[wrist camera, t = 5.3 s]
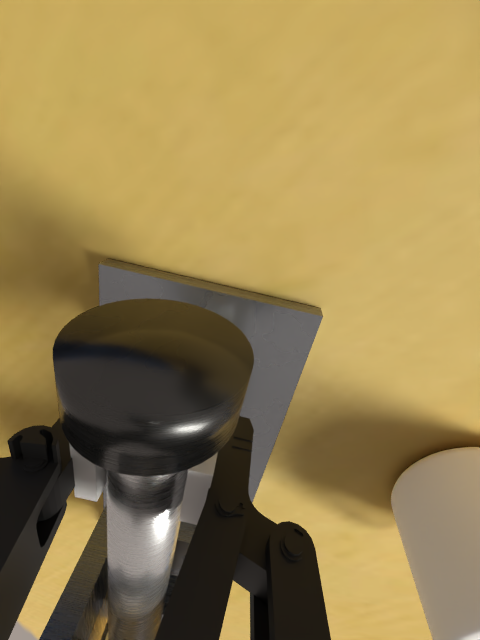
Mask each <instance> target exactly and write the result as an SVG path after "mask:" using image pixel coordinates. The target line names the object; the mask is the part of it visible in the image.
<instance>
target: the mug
mask: <svg viewBox="0 0 480 640" xmlns="http://www.w3.org/2000/svg"><path fill="white" fill-rule="evenodd" d="M391 505H392V510H393V513H394V517H395V520H396V524H397V527H398V530H399V533H400V537H401V540H402V543H403V546H404V550H405V553H406V556H407V559H408V562H409V565H410V569H411V572H412V575H413V578H414V581H415V584H416V588H417V591H418V594H419V597H420V600H421V603H422V607H423V610H424V613H425V616H426V619H427V622H428V626H429V629H430V632H431V635H432V638H433V640H480V447H463V448H454V449H449V450H444V451H441V452H437V453H434V454H431V455H429V456H427V457H424V458H422V459H420V460H419V461H417V462H415V463H414V464H412V465H411V466H410V467H408V468H407V469H406V470H405V471H404V472H403V473H402V474H401V475H400V477H399V478H398V480H397V481H396V483H395V485H394V487H393V490H392V495H391Z"/></svg>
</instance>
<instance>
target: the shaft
mask: <svg viewBox="0 0 480 640" xmlns="http://www.w3.org/2000/svg"><path fill="white" fill-rule="evenodd" d="M53 362H54V371H55V380H56V389H57V398H58V406H59V415H60V422H61V426H62V430H63V432H64V435H65V437H66V439H67V440H68V442H69V443H70V444H71V446H72V447H73V448H74V449H75V450H76V451H77V452H78V453H79V454H80V455H81V456H82V457H84V458H85V459H87V460H88V461H90V462H91V463H93V464H95V465H97V466H99V467H101V468H104V469H106V481H107V564H108V640H154V639H155V637H156V634H157V631H158V628H159V626H160V623H161V619H162V614H163V609H164V603H165V598H166V593H167V588H168V583H169V578H170V573H171V568H172V563H173V558H174V553H175V548H176V543H177V537H178V532H179V527H180V522H181V521H179V518H180V512H181V507H182V501H183V495H184V490H185V484H186V478H187V473H188V469H190V468H192V467H194V466H196V465H199V464H201V463H203V462H204V461H206V460H208V459H209V458H211V457H212V456H214V455H215V454H216V453H217V452H218V451H220V450H221V449H222V448H223V447H224V445H225V444H226V443H227V442H228V441H229V439H230V438H231V436H232V435H233V433H234V431H235V428H236V426H237V423H238V420H239V416H240V412H241V409H242V405H243V402H244V398H245V395H246V391H247V387H248V384H249V380H250V377H251V373H252V369H253V365H254V354H253V349H252V347H251V344H250V342H249V341H248V339H247V337H246V336H245V335H244V334H243V332H242V331H241V330H240V329H239V328H238V327H237V326H235V325H234V324H233V323H232V322H230V321H229V320H227V319H226V318H224V317H222V316H221V315H219V314H217V313H215V312H213V311H210V310H208V309H205V308H202V307H200V306H197V305H193V304H189V303H185V302H180V301H174V300H167V299H148V298H146V299H130V300H122V301H116V302H112V303H108V304H104V305H101V306H98V307H95V308H93V309H90V310H88V311H86V312H84V313H82V314H80V315H78V316H77V317H75V318H74V319H73V320H71V321H70V322H69V323H68V324H67V325H66V326H64V328H63V329H62V330H61V331H60V333H59V334H58V336H57V338H56V340H55V343H54V347H53Z"/></svg>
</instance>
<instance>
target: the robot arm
mask: <svg viewBox="0 0 480 640" xmlns="http://www.w3.org/2000/svg"><path fill="white" fill-rule="evenodd" d="M253 433H254V429H253V426H252V423H251V421H250V418H246V417H241V416H239V420H238V423H237V426H236V428H235V431H234V433H233V435H232V436H231V438H230V439H229V441H228V442H227V443H226V444H225V445H224V447H223V448H222V449H221V450H220V451H218V452H217V453H216V454H215V455H214V456H212V457H211V458H209V459H208V460H206V461H204V462H203V463H201V464H199V465H196V466H194V467H192V468H190V469H188V473H187V478H186V484H185V490H184V495H183V501H182V507H181V512H180V518H179V521H182V522H186V523H191V524H195V525H197V526H196V528H195V531H194V534H193V537H192V539H191V542H190V545H189V547H188V550H187V553H186V556H185V558H184V561H183V564H182V566H181V569H180V572H179V574H178V577H177V580H176V583H175V585H174V588H173V591H172V593H171V596H170V599H169V601H168V604H167V607H166V610H165V612H164V615H163V618H162V620H161V623H160V626H159V628H158V631H157V634H156V637H155V639H154V640H219V637H220V633H221V628H222V624H223V620H224V616H225V611H226V607H227V603H228V598H229V594H230V590H231V586H232V581H233V580H234V581H235V582H236V583H238V584H239V585H241V586H242V587H243V588H245V589H246V590H248V591H249V592H250V640H331V638H330V632H329V626H328V620H327V615H326V609H325V603H324V597H323V591H322V586H321V580H320V574H319V568H318V563H317V557H316V551H315V547H314V544H313V541H312V539H311V537H310V536H309V534H308V533H307V531H306V530H305V529H303V528H302V527H301V526H300V525H298V524H296V523H293V522H290V521H289V522H281V523H279V524H276V523H274V522H273V521H271V520H269V519H268V518H266V517H265V516H263V515H262V514H261V513H259V512H258V511H257V510H256V508H255V507H254V506H253V504H252V502H251V500H250V497H249V489H248V487H249V476H250V465H251V454H252V453H251V452H252V444H253V443H252V442H253ZM8 445H9V449H10V453H11V457H5V458H0V640H8V639H9V637H10V634H11V632H12V630H13V628H14V625H15V623H16V621H17V619H18V617H19V614H20V612H21V610H22V608H23V605H24V603H25V601H26V599H27V596H28V594H29V592H30V590H31V587H32V585H33V583H34V581H35V579H36V576H37V574H38V572H39V570H40V567H41V565H42V563H43V561H44V558H45V556H46V554H47V552H48V549H49V547H50V545H51V543H52V540H53V538H54V536H55V534H56V532H57V529H58V527H59V525H60V523H61V520H62V518H63V516H64V514H65V510H66V506H67V503H66V500H67V498H68V496H69V495H70V493H71V492H72V490H73V488H74V492H75V497H78V498H82V499H86V500H91V501H95V502H97V501H98V499H99V497H100V495H101V493H102V491H103V489H104V487H105V486H106V484H107V481H106V469H104V468H101V467H99V466H97V465H95V464H93V463H91V462H90V461H88V460H87V459H85V458H84V457H82V456H81V455H80V454H79V453H78V452H77V451H76V450H75V449H74V448H73V447H72V446H71V444H70V443H69V442H68V440H67V439H66V437H65V435H64V432H63V430H62V426H61V422H60V418H59V419H58V420H57V422H56V423H55V424H54V425H53V426H52V428H51V427H47V426H44V425H43V426H32V427H28V428H25V429H23V430H21V431H19V432H17V433H16V434H14V435H13V436H12V437H11V438H10V439H9V440H8Z"/></svg>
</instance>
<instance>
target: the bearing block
mask: <svg viewBox="0 0 480 640" xmlns="http://www.w3.org/2000/svg"><path fill="white" fill-rule="evenodd" d="M146 298H148V299H167V300H174V301H180V302H185V303H189V304H193V305H197V306H200V307H202V308H205V309H208V310H210V311H213V312H215V313H217V314H219V315H221V316H222V317H224V318H226V319H227V320H229V321H230V322H232V323H233V324H234V325H235V326H237V327H238V328H239V329H240V330H241V331H242V332H243V334H244V335H245V336H246V337H247V339H248V341H249V342H250V344H251V347H252V349H253V354H254V365H253V369H252V373H251V377H250V380H249V384H248V387H247V391H246V395H245V398H244V402H243V405H242V409H241V412H240V416H241V417H246V418H250V421H251V423H252V426H253V429H254V433H253V442H252V443H253V444H252V452H251V453H252V454H251V465H250V476H249V487H248V489H249V497H250V500H251V502H253V499H254V497H255V494H256V491H257V489H258V486H259V483H260V481H261V478H262V476H263V473H264V470H265V468H266V465H267V462H268V460H269V457H270V454H271V452H272V449H273V447H274V444H275V441H276V439H277V436H278V433H279V431H280V428H281V426H282V423H283V420H284V418H285V415H286V412H287V410H288V407H289V404H290V402H291V399H292V397H293V394H294V391H295V389H296V386H297V383H298V381H299V378H300V376H301V373H302V370H303V368H304V365H305V362H306V360H307V357H308V354H309V352H310V349H311V347H312V344H313V341H314V339H315V336H316V333H317V331H318V328H319V325H320V323H321V320H322V318H323V315H322V311H321V308H318V307H313V306H309V305H305V304H301V303H296V302H292V301H288V300H284V299H279V298H275V297H271V296H266V295H262V294H258V293H254V292H249V291H245V290H241V289H237V288H232V287H228V286H224V285H220V284H215V283H211V282H207V281H202V280H198V279H194V278H190V277H185V276H181V275H177V274H173V273H168V272H164V271H160V270H156V269H151V268H147V267H143V266H138V265H134V264H130V263H126V262H121V261H117V260H113V259H109V258H108V259H106V260H104V261H103V262H101V263H99V304H100V306H101V305H104V304H108V303H112V302H116V301H122V300H130V299H146ZM103 499H104V510H103V512H102V514H101V516H100V518H99V520H98V522H97V524H96V526H95V528H94V530H93V532H92V535H91V537H90V539H89V541H88V543H87V545H86V547H85V549H84V551H83V553H82V555H81V557H80V559H79V561H78V563H77V565H76V567H75V569H74V571H73V573H72V575H71V577H70V579H69V581H68V583H67V585H66V587H65V589H64V591H63V593H62V595H61V597H60V599H59V601H58V603H57V605H56V607H55V609H54V611H53V613H52V615H51V617H50V619H49V621H48V623H47V625H46V627H45V629H44V631H43V633H42V635H41V637H40V639H39V640H88V639H89V637H90V634H91V632H92V629H93V627H94V624H95V622H96V619H97V616H98V614H99V611H100V609H101V606H102V604H103V601H104V599H105V596H106V594H107V591H108V564H107V484H106V486H105V487H104V489H103ZM196 526H197V525H195V524H191V523H186V522H182V521H181V522H180V527H179V532H178V537H177V543H176V548H175V553H174V558H173V563H172V568H171V573H170V578H169V583H168V588H167V593H166V598H165V603H164V609H163V614H162V618H163V615H164V612H165V610H166V607H167V604H168V601H169V599H170V596H171V593H172V591H173V588H174V585H175V583H176V580H177V577H178V574H179V572H180V569H181V566H182V564H183V561H184V558H185V556H186V553H187V550H188V547H189V545H190V542H191V539H192V537H193V534H194V531H195V528H196ZM161 620H162V619H161ZM101 640H108V621H107V624H106V626H105V629H104V632H103V634H102V637H101Z"/></svg>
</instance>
